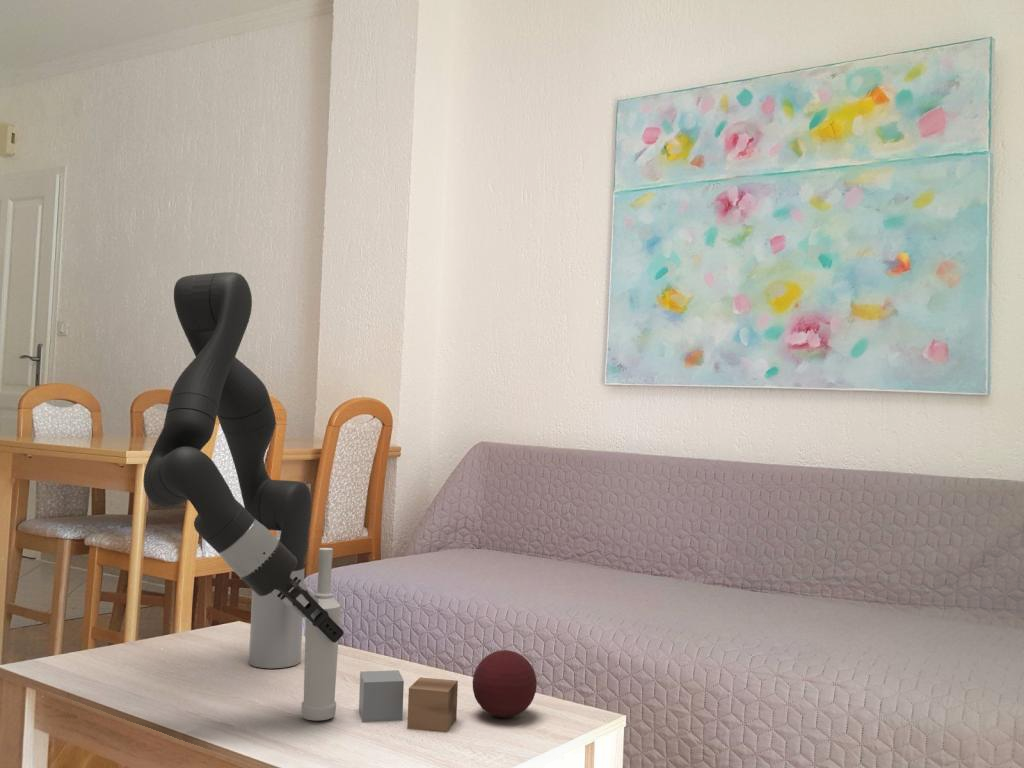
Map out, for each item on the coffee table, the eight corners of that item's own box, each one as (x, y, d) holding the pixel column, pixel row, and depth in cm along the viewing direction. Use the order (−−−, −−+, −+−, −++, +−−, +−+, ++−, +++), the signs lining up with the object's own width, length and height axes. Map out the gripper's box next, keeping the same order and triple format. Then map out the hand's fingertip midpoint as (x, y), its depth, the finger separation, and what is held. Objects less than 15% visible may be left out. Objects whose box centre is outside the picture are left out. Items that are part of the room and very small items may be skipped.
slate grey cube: (358, 710, 145) (360, 671, 145) (397, 708, 146) (398, 670, 147) (362, 722, 139) (363, 682, 139) (402, 721, 141) (403, 680, 141)
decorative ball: (458, 717, 143) (460, 651, 143) (496, 702, 151) (498, 640, 152) (511, 731, 137) (513, 663, 138) (548, 715, 145) (550, 650, 146)
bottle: (342, 712, 142) (349, 548, 143) (324, 723, 137) (332, 552, 138) (312, 708, 143) (319, 545, 144) (294, 717, 139) (301, 549, 139)
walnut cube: (418, 716, 143) (420, 677, 143) (456, 720, 142) (457, 680, 142) (407, 729, 137) (408, 688, 137) (446, 733, 136) (448, 691, 136)
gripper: (286, 545, 131) (365, 625, 136) (267, 531, 144) (339, 605, 149) (246, 584, 129) (328, 664, 134) (230, 567, 142) (305, 641, 147)
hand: (333, 633), depth 141 cm, fingers closed on bottle, 5 cm apart
